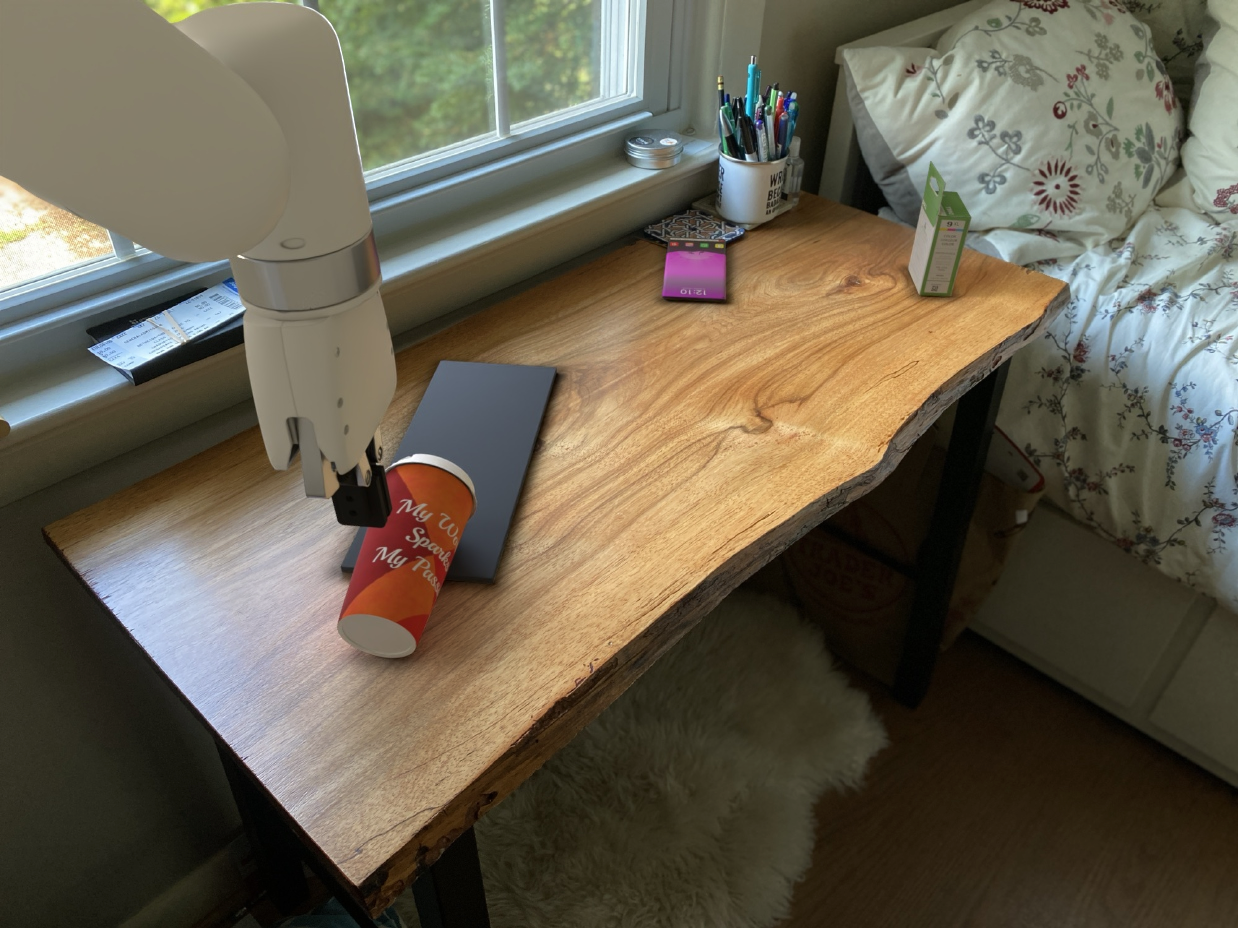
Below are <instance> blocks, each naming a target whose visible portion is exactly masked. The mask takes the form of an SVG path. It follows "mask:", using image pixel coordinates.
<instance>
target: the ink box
mask: <svg viewBox="0 0 1238 928" xmlns="http://www.w3.org/2000/svg"><path fill="white" fill-rule="evenodd" d="M928 165H929V166H928V171H927V175H926V176H927V177H926V181H925V187H924V192H923V195H922V201H921V205H920V211H919V216H918V220H917V225H916V230H915V236H914V240H913V245H912V250H911V254H910V258H909V263H908V266H907V270H908V272H909V274H910V277H911V279H912V282H913V284H914V287H915V289H916V292H917V294H918V295H919V296H932V297H941V298H942V297H946V298H947V297H952V295H953V291H954V286H955V283H956V279H957V276H958V273H959V272H958V271H959V268H960V264H961V260H962V257H963V253H964V249H965V245H966V241H967V237H968V233H969V229H970V225H971V221H972V216H971V214H970V212H969V211H968V208H967V207H966V205H965V204H964V201H963V200H962V198H961V196H960V194H959V192H958V191H949V190H946V189H945V188H946V185H947V183H946V181H945V180H944V179H943V177H942V175H941V174H940V172H939V171H938V170H937V168H936V166H935V164H934V163H933V162H932V160H930V161H929V164H928ZM932 179H935V181H936V184H937V187H938V190H935V189H934V186H933V185H932Z"/></svg>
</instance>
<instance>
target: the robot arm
mask: <svg viewBox="0 0 1238 928" xmlns="http://www.w3.org/2000/svg"><path fill="white" fill-rule="evenodd" d="M340 43H341V42H340V39H339V37H338V34H337V32H336V30H335V28H334V26H333V25H332V24H331V22H330V21H329V20H328V19H327V18H326V17H325V15H323V14H321V13H320V12H318V11H317V10H316V9H314V8H312V7H308V6H305V5H302V4H297V3H293V2H285V1H247V2H237V3H229V4H224V5H217V6H214V7H208V8H206V9H203V10H200V11H197V12H195V13H193V14H190V15H189V16H187V17H185V18H183V19H182V20H179V21H176V22H175V21H173V22H170V21H168V20H167V19H166V18H165V17H164V16H163V15H161V14H160V13H158V12H156V11H155V10H154V9H153V8H151V7H150V6H149V5H147V4H146V3H144V2H143V1H142V0H0V177H3V178H5V179H7V180H9V181H11V182H13V183H15V184H17V185H18V186H19V187H20V188H22V189H23V190H25V191H26V192H28V193H30V195H32V196H34V197H36V198H37V199H39V200H42V201H44V202H45V203H47V204H50V205H52V206H53V207H56V208H58V209H60V210H62V211H64V212H67V213H69V214H71V215H74V216H75V217H78V218H80V219H82V220H85V221H87V222H88V223H89V222H90V223H91V224H93V225H96V226H99V227H100V228H103V229H106V230H107V231H109V232H112V233H114V234H116V235H118V236H120V237H123V238H124V239H127V240H129V241H131V242H132V243H134V244H136V245H138V246H141V247H142V248H144V249H146V250H148V251H150V252H152V253H155V254H157V255H158V256H162V257H164V258H167V259H169V260H170V259H171V260H173V261H178V262H186V263H193V264H203V263H204V264H205V263H207V264H208V263H217V262H221V261H225V260H228V261H229V266H230V268H231V273H232V276H233V279H234V282H235V286H236V290H237V294H238V297H239V301H240V303H241V305H242V306H243V307H244V308H245V310H246V311H245V312H244V314H243V317H242V324H243V340H244V348H245V357H246V364H247V370H248V377H249V383H250V388H251V392H252V396H253V402H254V406H255V411H256V414H257V420H258V423H259V428H260V433H261V436H262V439H263V443H264V447H265V451H266V454H267V457H268V460H269V463H270V464H271V466H272V467H273V468H274V470H275V471H288V469H289V468H290V467H291V466H292V464H293V462H294V461H295V458H296V457H297V456H298V454H299V455H300V462H301V469H302V470H301V471H302V476H303V477H302V478H303V485H304V492H305V496H306V498H308V499H320V500H330V499H331V502H332V506H333V509H334V513H335V517H336V521H337V522H338V524H340V525H341V526H347V527H359V528H360V527H373V528H383V527H385V525H386V522H387V520H388V519H387V517H389V516H390V514H391V512H392V503H391V498H390V494H389V489H388V484H387V479H386V474H385V470H386V469H385V465H383V464H381V463H382V462H383V459H384V454H385V453H384V445H383V444H384V443H383V436H382V435H383V434H382V428H381V422H382V421H383V419H384V417H385V415H386V413H387V411H388V409H389V407H390V405H391V403H392V401H393V399H394V396H395V394H396V389H397V385H398V376H397V375H398V374H397V365H396V364H397V363H396V358H395V352H394V346H393V341H392V337H391V332H390V328H389V323H388V318H387V314H386V310H385V307H384V302H383V299H382V295H381V291H380V289H381V287H382V283H383V273H382V269H381V262H380V257H379V252H378V251H379V250H378V245H377V241H376V234H375V229H374V224H373V221H372V215H371V209H370V204H369V198H368V192H367V187H366V181H365V175H364V169H363V163H362V157H361V151H360V145H359V141H358V135H357V130H356V124H355V118H354V112H353V106H352V101H351V95H350V90H349V84H348V79H347V73H346V68H345V62H344V57H343V53H342V48H341V44H340Z"/></svg>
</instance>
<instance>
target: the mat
mask: <svg viewBox="0 0 1238 928" xmlns="http://www.w3.org/2000/svg"><path fill="white" fill-rule="evenodd" d="M557 373H558V368H557V366H542V365H527V364H509V363H508V364H507V363H492V362H473V361H459V360H440V362H439V363H438V366H437V367H436V370H435V372H434V374H433V376H432V378H431V379H430V382H429V384H428V386H427V388H426V390H425V392H424V395H423V397H422V399H421V401H420V403H419V405H418V407H417V409H416V411H415V413H414V415H413V417H412V419H411V421H410V422H409V425H408V427H407V429H406V431H405V433H404V436H403V437H402V440H401V442H400V444H399V446H398V448H397V450H396V452H395V454H394V455H393V457H392V460H391V462H390V464H389V466H388V467H390V466H392V464H393V463H397V462H398V461H399V460H401V459H403V458H406V457H408V456H410V457H412V456H413V455H415V454H428V455H433V456H437V457H441V458H443V459H446V460H448V461H450V462H452V463H454V464H455V465H457V466H458V467H460V468H461V469H462V470H463V471H464V472H465V473H466V474H467V475H468V476H469V478H470V479H471V481H472V483H473V485H474V489H475V497H476V501H477V507H476V511H475V513H474V515H473V516H472V517H471V518H470V519H469V521H468V522H467V523H466V526H465V528H464V531H463V533H462V536H461V538H460V541H459V543H458V546H457V548H456V551H455V554H454V556H453V559H452V561H451V564H450V566H449V569H448V571H447V574H446V576H445V579H444V581H453V582H463V583H464V582H465V583H478V584H489V585H491V584H492V585H494V583H495V580H496V576H497V572H498V569H499V566H500V563H501V559H502V555H503V552H504V549H505V546H506V543H507V539H508V536H509V533H510V529H511V526H512V524H513V523H512V522H513V519H514V517H515V513H516V509H517V507H518V503H519V499H520V496H521V494H522V493H521V492H522V489H523V486H524V482H525V479H526V476H527V472H528V470H529V466H530V463H531V459H532V455H533V453H534V450H535V447H536V442H537V440H538V436H539V434H540V433H539V432H540V429H541V426H542V423H543V419H544V416H545V412H546V409H547V406H548V404H549V403H548V402H549V399H550V396H551V393H552V389H553V386H554V382H555V380H556V376H557ZM367 529H368V527H360V526H359V527H358V530H357V532H356V534H355V536H354V538H353V540H352V542H351V544H350V547H349V548H348V551H347V553H346V555H345V556H344V559H343V561H342V563H341V564H340V570H341V572H342V573H351V574H353V571H354V568H355V565H356V562H357V559H358V556H359V553H360V550H361V547H362V544H363V541H364V538H365V535H366V532H367Z"/></svg>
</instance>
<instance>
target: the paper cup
mask: <svg viewBox="0 0 1238 928" xmlns="http://www.w3.org/2000/svg"><path fill="white" fill-rule="evenodd" d="M389 466H390V465H389ZM389 466H388V467H387V468H386V469H385V474H386V479H387V484H388V489H389V494H390V498H391V503H392V512H391V514H390V516H389V517H387V519H388V520H387V522H386V525H385V527H383V528H373V527H368V529H367V532H366V535H365V538H364V541H363V544H362V547H361V550H360V553H359V556H358V559H357V562H356V565H355V568H354V571H353V573H351V577H350V579H349V583H348V587H347V589H346V593H345V596H344V600H343V603H342V605H341V609H340V612H339V616H338V620H337V624H336V630H337V633H338V634H339V636H340V637H341V638H342V640H343V641H345V642H346V643H347V644H348V645H349V646H351V647H353V648H355V649H356V650H359V651H361V652H363V653H366V654H369V655H372V656H376V657H379V658H380V657H381V658H387V659H397V658H398V659H399V658H403V657H404V658H405V657H407V656H409V655H411V654H413V653H414V652H415V650H416V648H417V647H418V644H419V642H420V641H421V638H422V636H423V633H424V631H425V628H426V626H427V624H428V621H429V619H430V616H431V614H432V612H433V609H434V606H435V604H436V602H437V598H438V596H439V594H440V591H441V589H442V586H443V583H444V581H445V580H444V579H445V576H446V574H447V571H448V569H449V566H450V564H451V561H452V559H453V556H454V554H455V551H456V548H457V546H458V543H459V541H460V538H461V536H462V533H463V531H464V528H465V526H466V523H467V522H468V521H469V519H470V518H471V517H472V516H473V515H474V513H475V511H476V507H477V501H476V497H475V489H474V485H473V483H472V481H471V479H470V478H469V476H468V475H467V474H466V473H465V472H464V471H463V470H462V469H461V468H460V467H458V466H457V465H455V464H454V463H452V462H450V461H448V460H446V459H443V458H441V457H437V456H433V455H428V454H415V455H413V456H412V457H410V456H408V457H406V458H403V459H401V460H399V461H398V462H397V463H393V464H392V466H390V467H389Z"/></svg>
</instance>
